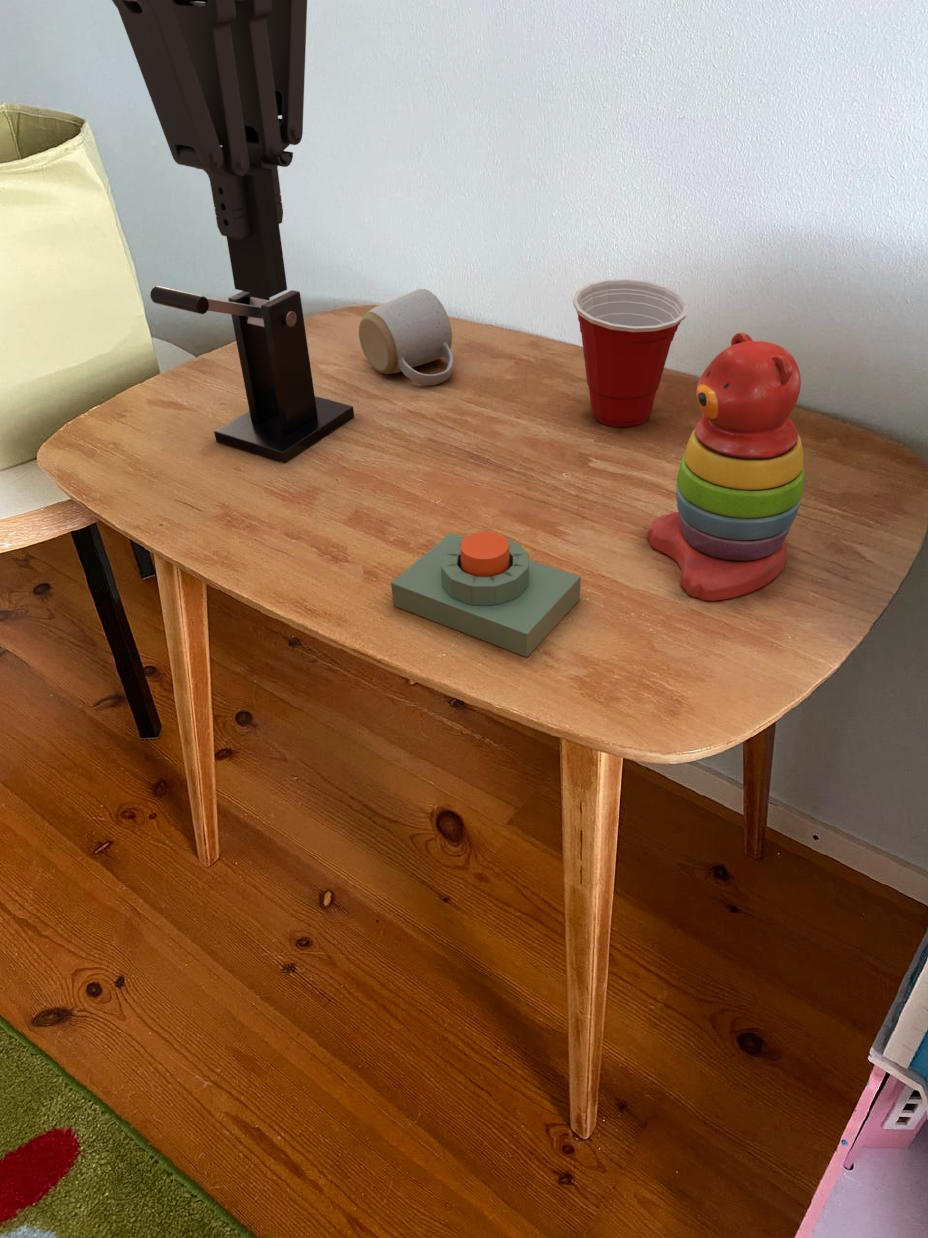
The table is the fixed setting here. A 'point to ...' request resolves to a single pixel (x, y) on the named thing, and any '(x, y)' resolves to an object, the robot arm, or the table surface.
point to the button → (484, 554)
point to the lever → (208, 304)
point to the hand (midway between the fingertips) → (261, 288)
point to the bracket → (278, 384)
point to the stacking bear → (737, 474)
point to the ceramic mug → (408, 336)
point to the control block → (488, 596)
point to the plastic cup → (626, 345)
